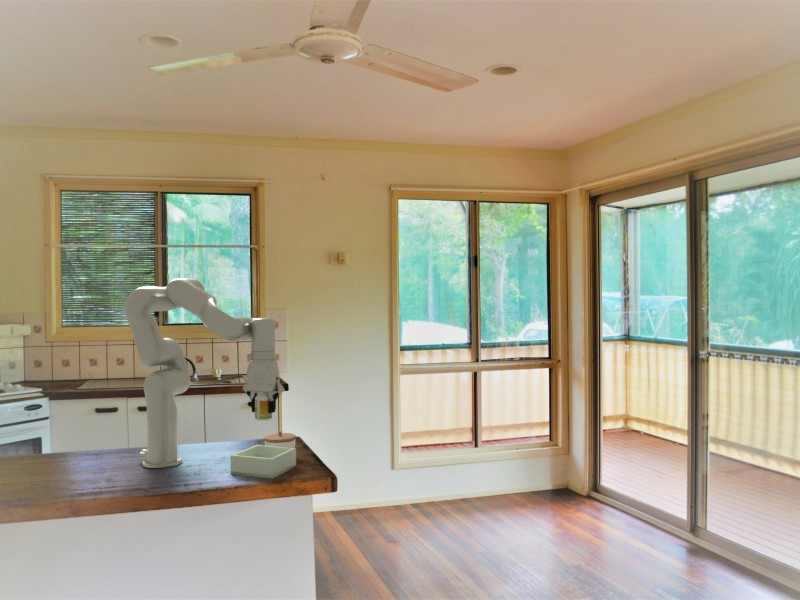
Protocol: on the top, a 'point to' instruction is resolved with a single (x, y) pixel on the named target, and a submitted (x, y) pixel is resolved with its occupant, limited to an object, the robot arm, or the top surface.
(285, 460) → the bin
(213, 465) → the top surface
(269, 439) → the lidded jar
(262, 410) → the supplement bottle
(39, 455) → the top surface
